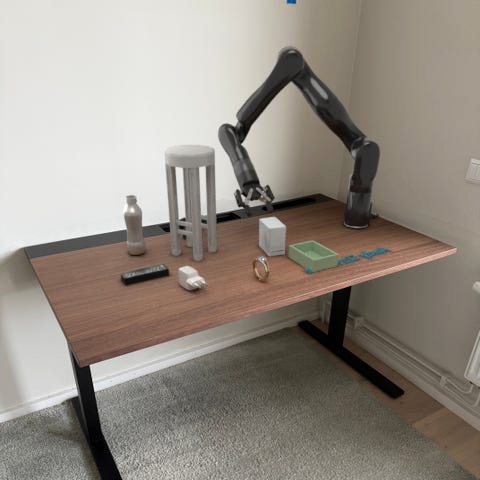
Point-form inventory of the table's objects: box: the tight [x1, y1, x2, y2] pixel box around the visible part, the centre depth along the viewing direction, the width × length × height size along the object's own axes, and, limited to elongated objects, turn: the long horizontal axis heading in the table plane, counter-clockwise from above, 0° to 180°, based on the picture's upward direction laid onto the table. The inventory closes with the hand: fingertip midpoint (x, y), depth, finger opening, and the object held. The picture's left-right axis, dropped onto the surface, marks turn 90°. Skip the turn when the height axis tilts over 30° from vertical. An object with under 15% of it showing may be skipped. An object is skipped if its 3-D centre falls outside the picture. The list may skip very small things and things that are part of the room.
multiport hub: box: [120, 263, 170, 286], centre depth 149 cm, size 4×14×2 cm, turn 120°
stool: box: [163, 144, 218, 262], centre depth 158 cm, size 16×16×35 cm
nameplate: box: [304, 246, 392, 275], centre depth 162 cm, size 37×1×5 cm
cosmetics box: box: [258, 216, 287, 257], centre depth 167 cm, size 10×6×10 cm, turn 18°
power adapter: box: [177, 265, 209, 291], centre depth 141 cm, size 11×5×6 cm, turn 39°
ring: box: [251, 255, 270, 282], centre depth 147 cm, size 7×3×8 cm, turn 31°
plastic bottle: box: [122, 194, 147, 255], centre depth 162 cm, size 6×7×20 cm
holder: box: [287, 240, 340, 273], centre depth 160 cm, size 10×14×4 cm
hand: (261, 214), depth 170 cm, fingers open, 8 cm apart
